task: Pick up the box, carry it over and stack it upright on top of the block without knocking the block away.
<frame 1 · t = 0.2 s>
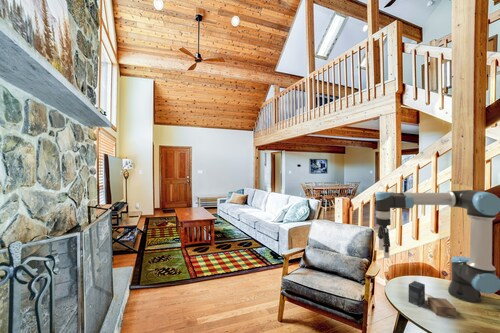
hand: (383, 253, 143), 27 cm above the table, fingers open, 13 cm apart
coaster: (425, 297, 144), on the table
block: (441, 311, 131), on the table
box: (416, 302, 140), on the table
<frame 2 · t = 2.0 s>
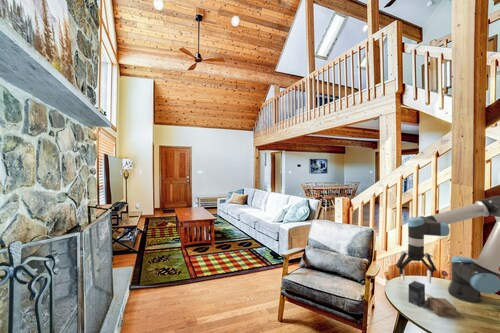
hand: (415, 281, 140), 12 cm above the table, fingers open, 13 cm apart
nothing on the table moved.
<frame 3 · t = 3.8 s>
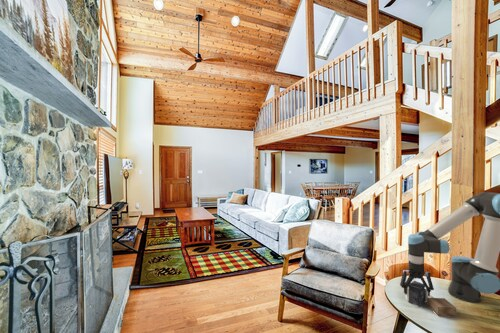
hand: (416, 300, 140), 1 cm above the table, fingers closed on box, 9 cm apart
box: (416, 302, 140), on the table, touching gripper
everything else where it was.
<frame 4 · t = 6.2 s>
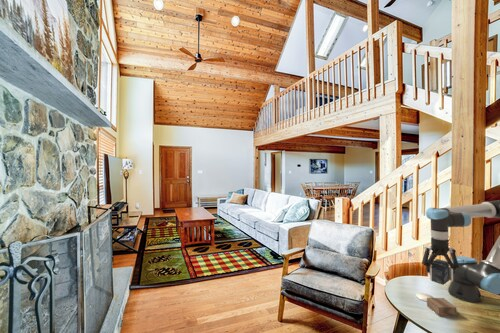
hand: (440, 279, 131), 17 cm above the table, fingers closed on box, 9 cm apart
box: (440, 281, 131), point 16 cm above the table, touching gripper
everything else where it was.
when the fingers open (7 cm above the table, at t = 8.9 s): box drops 2 cm, resting on block.
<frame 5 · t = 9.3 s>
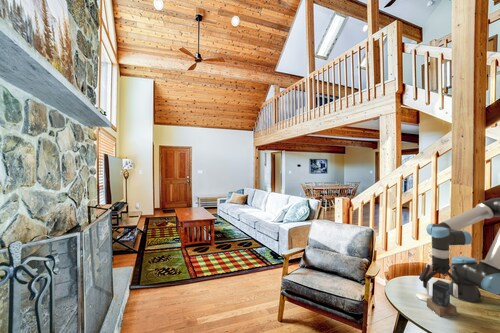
hand: (441, 295, 131), 9 cm above the table, fingers open, 13 cm apart
block: (441, 311, 131), on the table, touching box
box: (441, 302, 131), point 4 cm above the table, touching block
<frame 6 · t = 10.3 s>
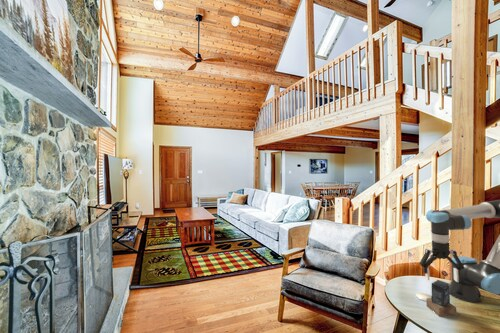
hand: (441, 280, 131), 17 cm above the table, fingers open, 13 cm apart
nothing on the table moved.
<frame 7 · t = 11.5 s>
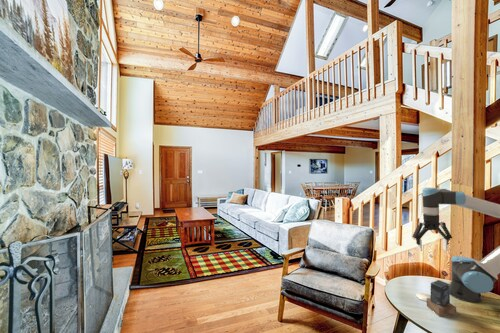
hand: (432, 250, 141), 30 cm above the table, fingers open, 13 cm apart
nothing on the table moved.
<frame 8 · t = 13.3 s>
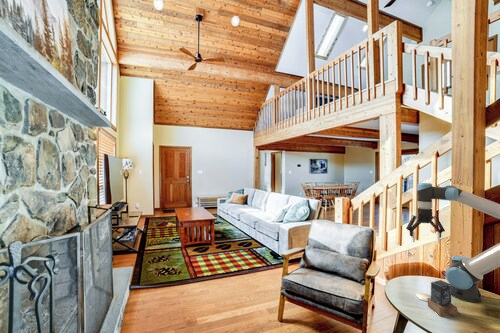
hand: (425, 242, 149), 32 cm above the table, fingers open, 13 cm apart
block: (442, 311, 131), on the table
box: (441, 302, 131), point 5 cm above the table
at the end: box inside the target area on the block (0.3 cm from its centre), point 4.8 cm above the block's base; box tilted 0°; block moved 0.5 cm from its start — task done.
